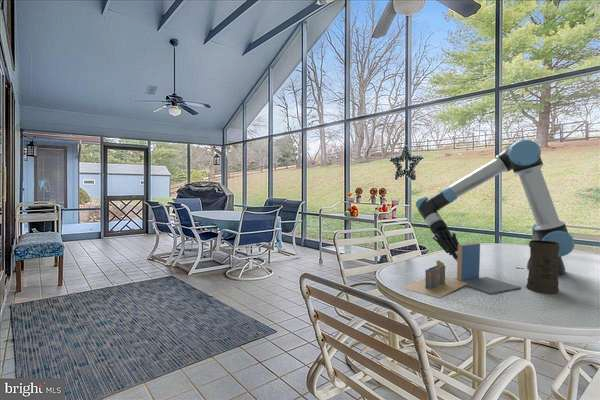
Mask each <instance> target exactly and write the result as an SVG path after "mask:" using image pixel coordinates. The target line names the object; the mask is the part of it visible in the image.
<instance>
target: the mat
mask: <svg viewBox="0 0 600 400" xmlns="http://www.w3.org/2000/svg"><path fill="white" fill-rule="evenodd" d="M460 282H465V283H468V284H466V285H464V286H465V287H468V288H470V289H474V290H475V291H480V292H482V293H485V294H488V295H494V294H501V293H506V292H511V291H516V290H517V291H518V290H522V286H518V285H515V284H512V283H509V282H505V281H502V280H499V279H495V278H491V277H488V276H482V277H479V278H475V279H468V280H462V281H460ZM464 286H463V287H464Z"/></svg>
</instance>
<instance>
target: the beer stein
mask: <svg viewBox="0 0 600 400" xmlns="http://www.w3.org/2000/svg"><path fill="white" fill-rule="evenodd" d="M528 246H529V253H530V254H529V258H530V263H529V269H528V277H527V279H526V280H527V282H526V285H525V287H526V289H528V290H530V291H533V292H536V293H540V294H546V293H547V294H548V295H551V294H554V293H555V294H559V292H560V289H559V284H560V283H559V274H558V252H559V248H560V247H559V243H557V242H552V241H543V240H532V239H531V240H529V243H528Z"/></svg>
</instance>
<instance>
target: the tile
mask: <svg viewBox="0 0 600 400" xmlns="http://www.w3.org/2000/svg"><path fill="white" fill-rule="evenodd" d="M480 257H481V243H479V242H471V243H470V242H469V243H461V244H460V243H459V244H458V259H457V261H456V263H457V264H456V266H457V267H456V272H457V273H456V281H462V280H468V279H475V278H480V259H481V258H480Z"/></svg>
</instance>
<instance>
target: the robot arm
mask: <svg viewBox="0 0 600 400" xmlns="http://www.w3.org/2000/svg"><path fill="white" fill-rule="evenodd" d="M541 153H542V150H541V147H540V145H539V144H538V143H537V142H535V141H534V140H532V139H520V140H517V141H514V143H512V144H510V145H509V146H508V147H507V148H506V149H504V150H503V151H502V152H499V154H497V155H496V156H495V157H494V159H492V160H491V161H489V162H488V163H486V164H485V165H482V166H481V167H479V168H477V169H475V170H473V172H471V173H469V174H467V175H465V176H464V177H461V178H460V179H458V180H457V181H455V182H454V183H452V184H450V185H449V186H447V187H445V188H443V189H441V190H440V191H438V192H437V193H436V194H434V195H432V196H431V197H429V198H428V197H427V196H422V197H420V198H418V199H417V200H416V202H415V206H416V208H417V211H418V212H419V214H420V215H421V217H422V218H423V220H424V222H425V223H426V225H427V226H428V227H429V230H430V231H431V233H432V234H433V237H432V240H434V241H435V242H436V243H437V244H438V245H439V246H440V248H441V249H442V250H444V252H445V253H446V254H448V256H452V258H453V259H454V260H455V262H457V259H458V244H460V242H459V241H458V239H457V234H456V232H453V233H452V232H451V231H450V230H449V229H448V225H447V224H446V222H445V221H444V220H443V217H442V216H441V215H440V213H439V212H438V211H440V210H441V209H443V208H445V207H446V206H448V205H450V204H451V203H453V202H454V201H455V200H458V198H459V197H462V196H463V195H465V194H467V193H468V192H470V191H472V190H473V189H476V188H477V187H480V186H481V185H482V184H484V183H486V182H488V181H489V180H491V179H493V178H495V177H497V176H498V175H500V174H502V173H504V172H505V173H508V172H509V171H512V172H513V174H516V175H517V176H519V180H520V182H521V185H522V188H523V191H524V194H525V196H526V199H527V202H528V205H529V207H530V210H531V213H532V216H533V219H534V221H535V223H534V224H533V226H532V229H531V231H532V236H531V241H532V240H543V241H552V242H557V243H559V247H560V248H559V252H558V275H563V274H566V266H565V263H564V261H563V259H562V257H564V256H565V257H566V256H568V255H569V254H571V253H572V252H573V250H574V249H575V245H576V244H575V243H576V242H575V240H574V239H575V238H573V236H572V235H571V234H570V233H569V231H568V228H567V226H566V223H565V222H564V221H562V220H560V219H559V215H558V213H557V210H556V207H555V204H554V202H553V200H552V196H551V194H550V191H549V189H548V186H547V182H546V181H545V177H544V175H543V172H542V168H543V166H544V162H543V160H542V157H541ZM529 263H530V257H529V258H528V261H527V263H526V269H527V270H529Z"/></svg>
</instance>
